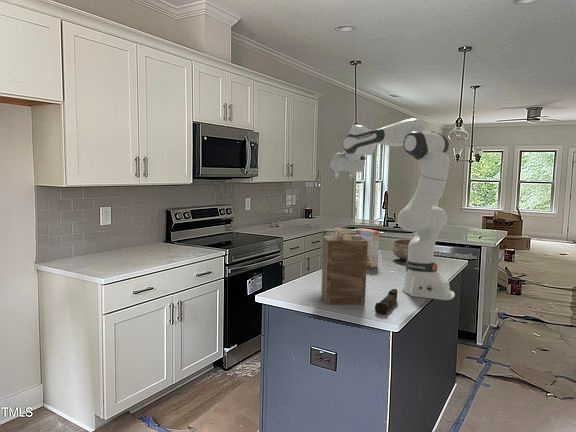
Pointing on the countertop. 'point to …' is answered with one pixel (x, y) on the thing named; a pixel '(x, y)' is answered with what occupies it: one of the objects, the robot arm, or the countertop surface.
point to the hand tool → (386, 302)
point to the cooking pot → (401, 248)
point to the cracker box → (370, 245)
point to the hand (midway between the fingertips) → (343, 178)
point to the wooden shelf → (344, 270)
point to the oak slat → (343, 234)
